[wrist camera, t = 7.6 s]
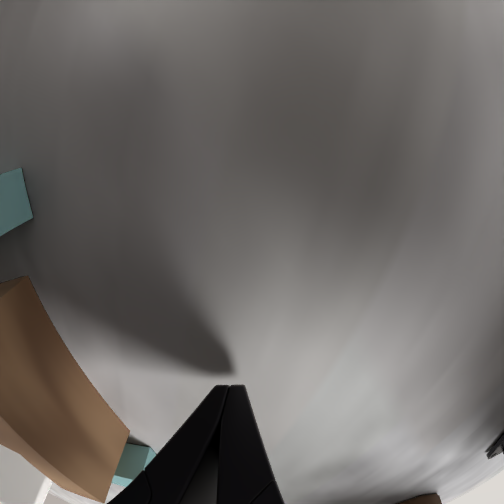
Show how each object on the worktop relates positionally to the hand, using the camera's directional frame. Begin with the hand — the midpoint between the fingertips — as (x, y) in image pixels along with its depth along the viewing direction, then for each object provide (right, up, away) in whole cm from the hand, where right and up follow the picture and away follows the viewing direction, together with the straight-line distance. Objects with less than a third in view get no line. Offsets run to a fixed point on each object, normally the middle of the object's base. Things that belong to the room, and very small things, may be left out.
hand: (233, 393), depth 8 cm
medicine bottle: (-23, -18, +10) cm, 31 cm away
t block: (-10, -1, +2) cm, 10 cm away
